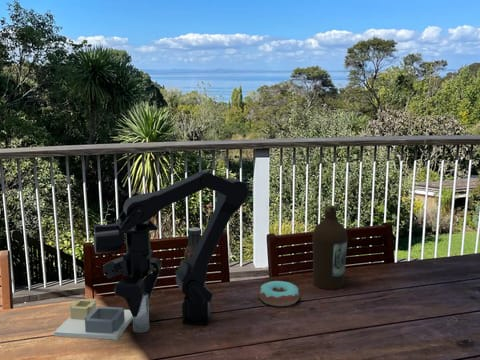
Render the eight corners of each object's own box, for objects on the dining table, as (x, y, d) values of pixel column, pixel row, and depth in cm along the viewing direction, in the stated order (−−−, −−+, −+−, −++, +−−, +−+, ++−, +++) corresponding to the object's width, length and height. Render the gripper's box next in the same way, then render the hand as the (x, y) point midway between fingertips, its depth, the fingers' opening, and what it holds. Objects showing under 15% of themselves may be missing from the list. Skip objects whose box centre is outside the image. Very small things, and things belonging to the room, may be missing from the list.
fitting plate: (136, 313, 127) (135, 299, 126) (117, 339, 113) (116, 324, 112) (80, 310, 129) (79, 296, 128) (54, 336, 115) (53, 320, 114)
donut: (253, 294, 140) (253, 281, 140) (290, 289, 144) (290, 277, 143) (266, 311, 129) (266, 297, 128) (306, 305, 132) (306, 292, 132)
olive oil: (304, 283, 147) (306, 206, 143) (324, 275, 155) (326, 201, 150) (332, 293, 140) (335, 212, 136) (352, 284, 147) (355, 206, 143)
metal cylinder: (151, 325, 120) (150, 292, 119) (146, 333, 116) (145, 299, 115) (136, 324, 121) (134, 291, 119) (130, 332, 117) (129, 298, 115)
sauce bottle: (202, 298, 136) (201, 232, 133) (181, 297, 137) (180, 231, 134) (208, 290, 143) (207, 226, 139) (188, 288, 144) (187, 225, 140)
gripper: (120, 236, 125) (123, 291, 128) (90, 260, 107) (94, 324, 109) (161, 237, 124) (163, 293, 126) (138, 261, 105) (140, 326, 108)
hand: (141, 308), depth 118 cm, fingers open, 9 cm apart
